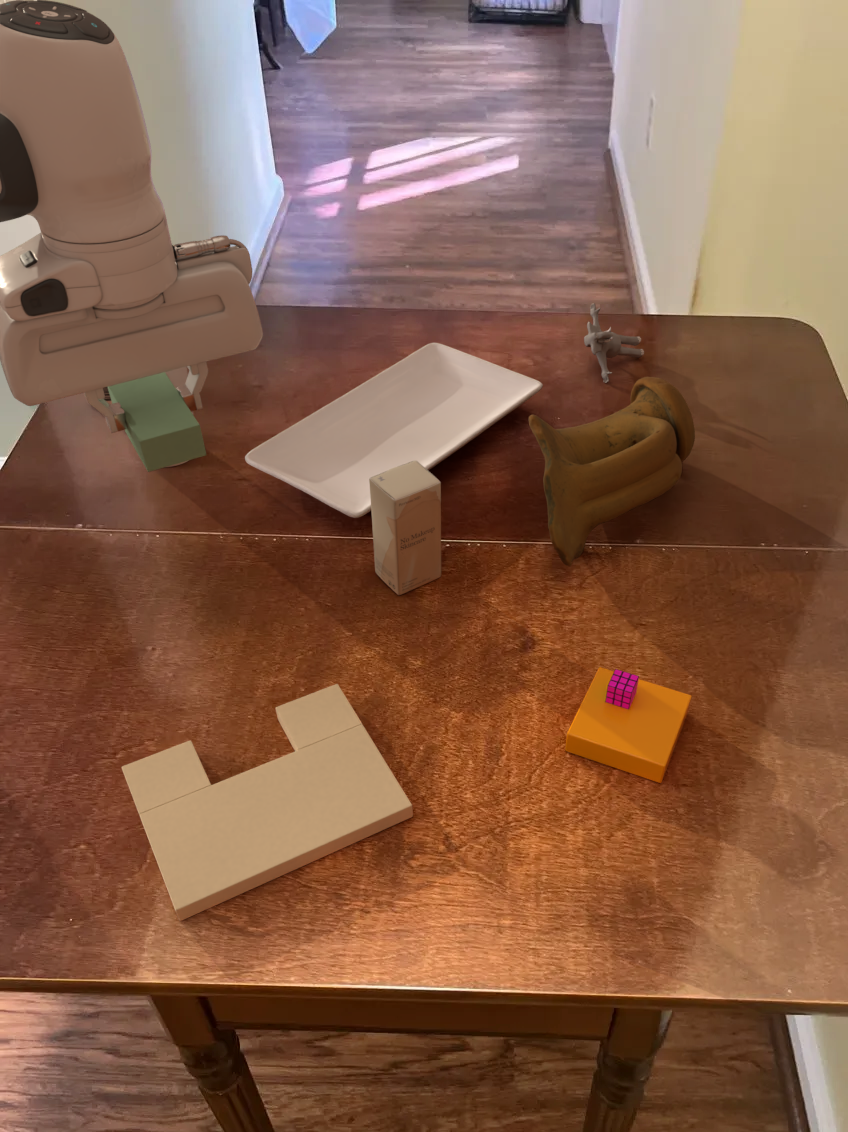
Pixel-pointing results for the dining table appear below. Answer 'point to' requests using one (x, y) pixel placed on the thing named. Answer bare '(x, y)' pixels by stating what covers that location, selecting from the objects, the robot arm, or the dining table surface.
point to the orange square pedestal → (628, 724)
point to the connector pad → (158, 421)
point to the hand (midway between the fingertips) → (155, 418)
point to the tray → (392, 425)
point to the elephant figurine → (608, 343)
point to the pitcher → (612, 462)
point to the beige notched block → (265, 805)
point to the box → (406, 526)
